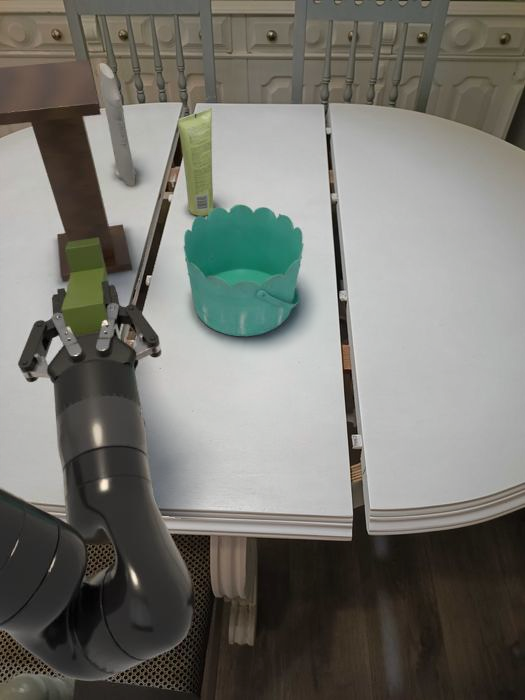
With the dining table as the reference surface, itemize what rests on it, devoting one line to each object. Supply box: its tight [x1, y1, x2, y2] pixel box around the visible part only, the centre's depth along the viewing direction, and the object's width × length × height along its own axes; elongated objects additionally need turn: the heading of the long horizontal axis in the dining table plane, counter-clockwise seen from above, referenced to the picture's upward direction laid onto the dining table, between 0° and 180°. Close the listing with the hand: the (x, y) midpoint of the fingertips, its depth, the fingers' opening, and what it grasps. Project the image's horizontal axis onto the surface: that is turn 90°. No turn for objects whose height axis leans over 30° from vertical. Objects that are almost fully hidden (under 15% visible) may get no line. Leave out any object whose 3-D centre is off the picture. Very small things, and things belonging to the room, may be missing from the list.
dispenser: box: [99, 62, 137, 187], centre depth 107 cm, size 11×4×22 cm, turn 25°
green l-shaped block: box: [61, 237, 110, 335], centre depth 62 cm, size 4×21×6 cm, turn 16°
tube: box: [177, 107, 214, 217], centre depth 100 cm, size 6×5×20 cm
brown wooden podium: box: [0, 59, 133, 283], centre depth 83 cm, size 12×19×32 cm, turn 17°
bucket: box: [183, 204, 305, 337], centre depth 85 cm, size 19×18×13 cm
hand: (84, 290), depth 58 cm, fingers closed on green l-shaped block, 4 cm apart
